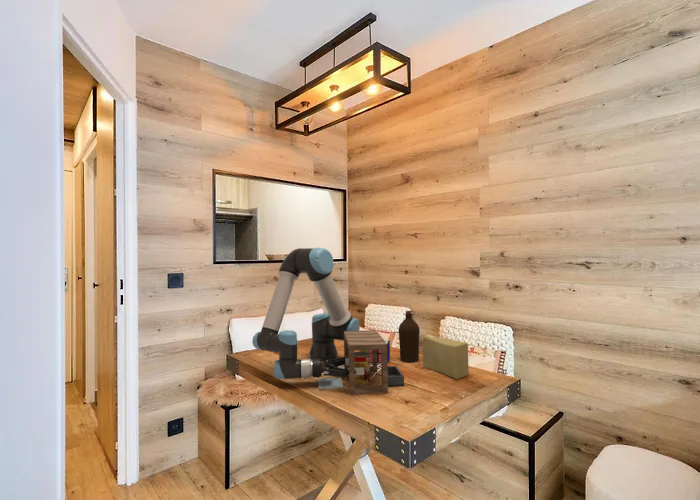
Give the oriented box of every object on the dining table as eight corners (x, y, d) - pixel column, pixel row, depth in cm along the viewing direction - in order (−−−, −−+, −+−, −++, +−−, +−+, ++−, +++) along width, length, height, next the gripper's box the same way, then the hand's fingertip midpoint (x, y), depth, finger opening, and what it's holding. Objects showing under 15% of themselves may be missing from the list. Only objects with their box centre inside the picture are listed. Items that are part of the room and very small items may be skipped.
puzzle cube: (388, 364, 184) (387, 343, 184) (368, 363, 186) (367, 343, 186) (390, 358, 194) (389, 339, 194) (371, 357, 196) (370, 338, 196)
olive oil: (404, 363, 183) (403, 313, 183) (395, 358, 193) (394, 310, 194) (423, 361, 186) (423, 311, 187) (414, 356, 196) (413, 308, 197)
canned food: (372, 384, 155) (372, 355, 155) (354, 386, 153) (353, 357, 154) (367, 378, 163) (366, 350, 163) (349, 380, 161) (349, 352, 161)
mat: (318, 379, 163) (318, 378, 163) (341, 378, 163) (341, 377, 163) (318, 389, 151) (318, 388, 151) (343, 388, 152) (343, 387, 152)
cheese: (416, 368, 176) (416, 336, 176) (430, 364, 182) (429, 333, 182) (456, 380, 159) (455, 345, 159) (469, 375, 165) (469, 341, 165)
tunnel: (344, 372, 171) (343, 331, 171) (376, 371, 173) (376, 330, 173) (350, 394, 144) (349, 345, 144) (388, 392, 146) (387, 344, 146)
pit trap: (381, 375, 166) (381, 366, 166) (396, 374, 167) (396, 365, 167) (387, 386, 152) (387, 376, 152) (404, 385, 153) (404, 376, 153)
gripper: (312, 368, 168) (358, 366, 170) (311, 387, 144) (366, 385, 145) (312, 351, 168) (358, 349, 170) (311, 368, 144) (365, 365, 145)
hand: (362, 366), depth 158 cm, fingers open, 13 cm apart
